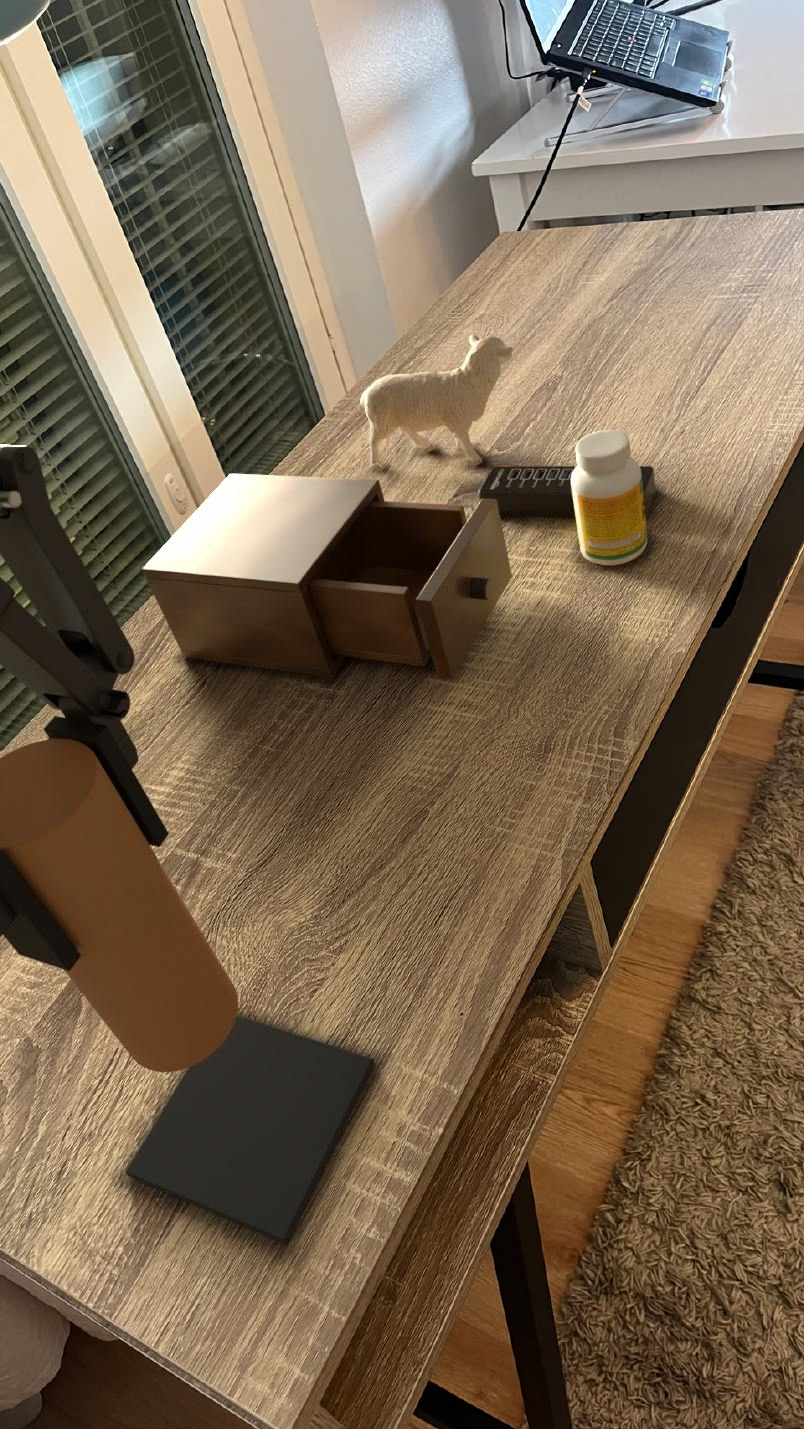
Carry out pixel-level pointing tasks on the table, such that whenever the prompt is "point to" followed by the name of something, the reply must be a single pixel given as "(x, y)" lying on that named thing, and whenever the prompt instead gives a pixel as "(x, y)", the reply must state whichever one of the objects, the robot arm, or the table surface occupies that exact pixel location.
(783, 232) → the table surface
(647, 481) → the multiport hub
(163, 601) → the cabinet
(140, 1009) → the brown cylinder
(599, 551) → the supplement bottle
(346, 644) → the drawer
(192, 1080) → the mat
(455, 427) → the figurine
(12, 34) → the robot arm
